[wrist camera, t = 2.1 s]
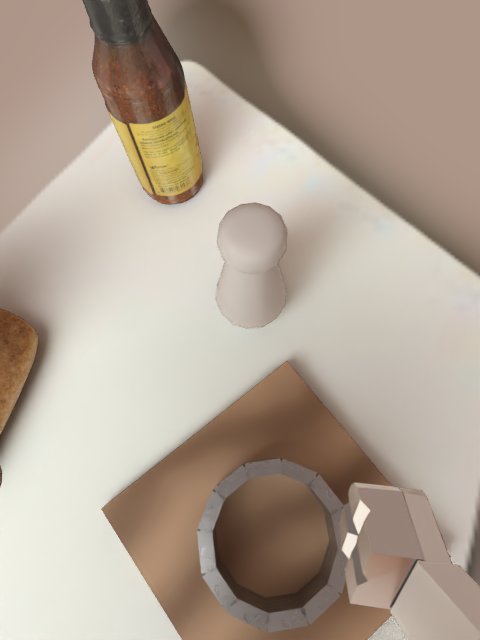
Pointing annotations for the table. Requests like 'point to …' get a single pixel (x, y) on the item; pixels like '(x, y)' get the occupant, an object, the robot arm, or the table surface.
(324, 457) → the keeper plate
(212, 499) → the keeper collar
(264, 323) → the salt shaker
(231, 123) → the table surface
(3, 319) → the stone cup
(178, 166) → the sauce bottle
